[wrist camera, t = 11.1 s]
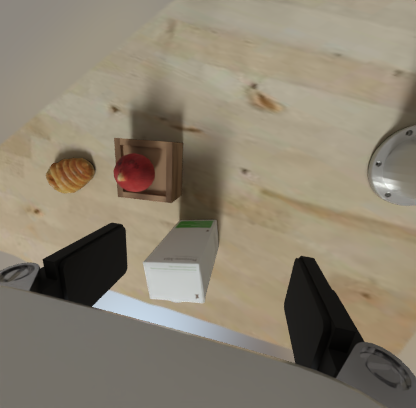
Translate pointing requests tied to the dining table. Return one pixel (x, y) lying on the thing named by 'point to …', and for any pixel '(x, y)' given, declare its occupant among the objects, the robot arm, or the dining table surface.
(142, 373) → the robot arm
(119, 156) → the wooden crate
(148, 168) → the onion
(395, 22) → the dining table surface
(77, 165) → the pastry
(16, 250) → the dining table surface
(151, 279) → the skincare box
